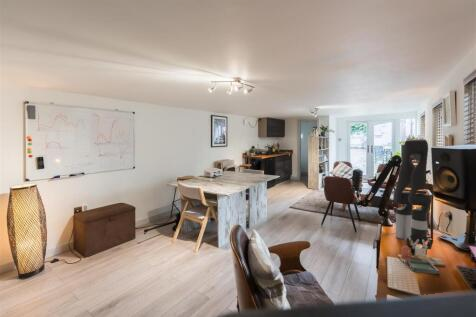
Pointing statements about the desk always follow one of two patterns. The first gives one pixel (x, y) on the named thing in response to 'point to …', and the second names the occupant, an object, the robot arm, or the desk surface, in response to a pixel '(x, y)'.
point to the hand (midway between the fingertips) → (418, 254)
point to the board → (427, 259)
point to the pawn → (405, 252)
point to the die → (420, 251)
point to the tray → (422, 267)
